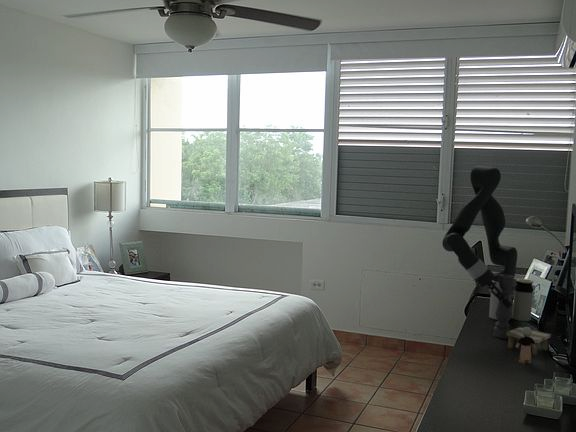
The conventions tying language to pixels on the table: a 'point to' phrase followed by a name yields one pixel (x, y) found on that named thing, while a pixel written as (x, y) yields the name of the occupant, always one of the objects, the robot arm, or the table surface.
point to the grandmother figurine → (526, 345)
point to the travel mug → (522, 300)
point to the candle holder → (503, 307)
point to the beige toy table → (535, 336)
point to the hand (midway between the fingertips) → (509, 305)
